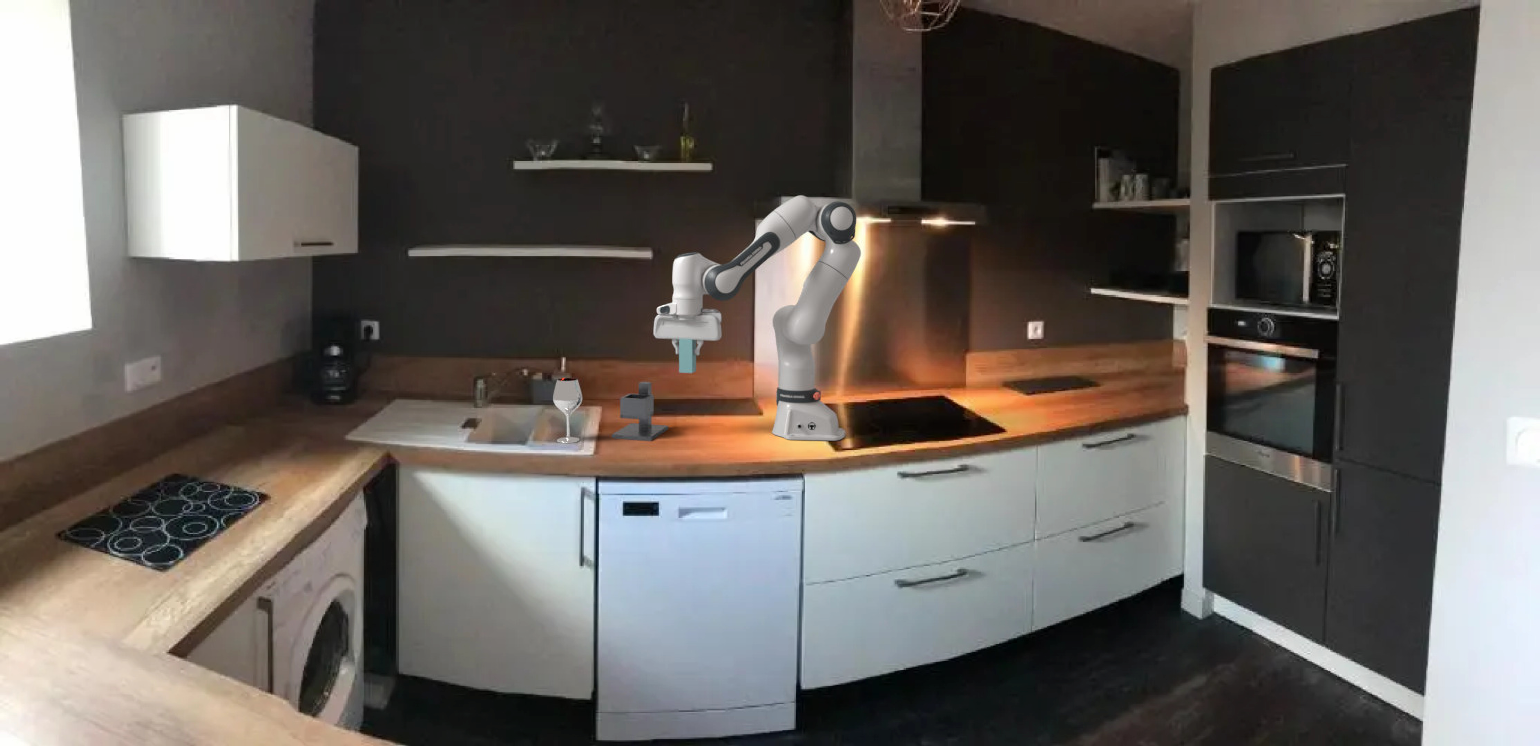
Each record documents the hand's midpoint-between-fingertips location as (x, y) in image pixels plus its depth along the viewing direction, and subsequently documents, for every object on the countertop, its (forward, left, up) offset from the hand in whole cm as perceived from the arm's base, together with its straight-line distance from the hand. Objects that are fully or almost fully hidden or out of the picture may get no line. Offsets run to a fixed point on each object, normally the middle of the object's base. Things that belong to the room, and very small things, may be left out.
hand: (687, 354), depth 256 cm
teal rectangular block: (0, 0, -5) cm, 5 cm away
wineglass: (+31, +16, -25) cm, 43 cm away
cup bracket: (+14, +2, -25) cm, 28 cm away
